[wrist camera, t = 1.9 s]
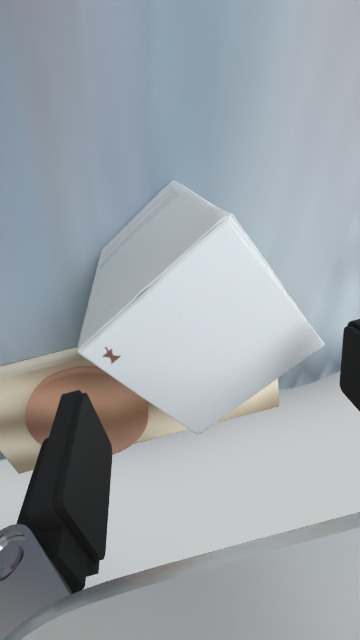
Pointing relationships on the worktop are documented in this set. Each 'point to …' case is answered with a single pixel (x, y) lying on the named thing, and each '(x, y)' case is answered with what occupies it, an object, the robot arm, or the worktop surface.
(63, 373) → the board
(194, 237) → the supplement box
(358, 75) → the worktop surface
